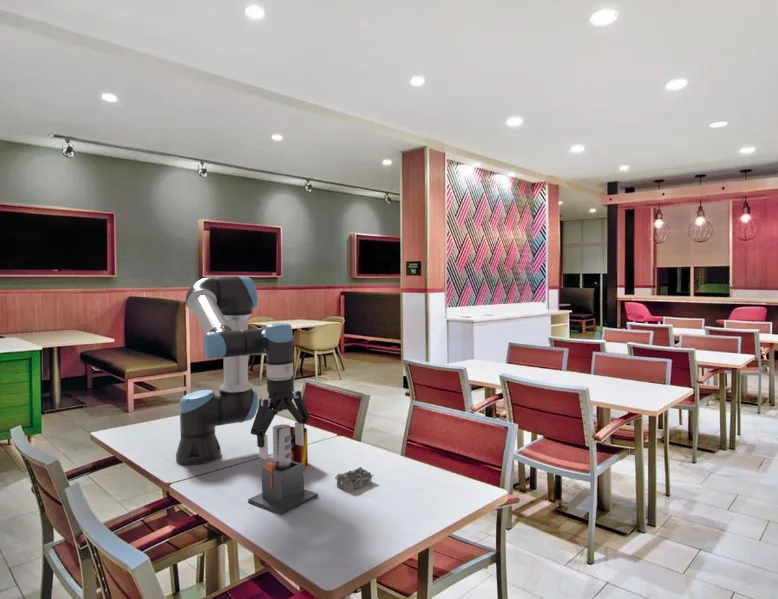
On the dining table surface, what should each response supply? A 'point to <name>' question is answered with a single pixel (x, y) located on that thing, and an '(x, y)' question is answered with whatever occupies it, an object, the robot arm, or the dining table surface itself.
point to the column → (282, 447)
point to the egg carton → (353, 479)
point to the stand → (282, 489)
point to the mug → (299, 449)
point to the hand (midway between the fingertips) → (282, 451)
